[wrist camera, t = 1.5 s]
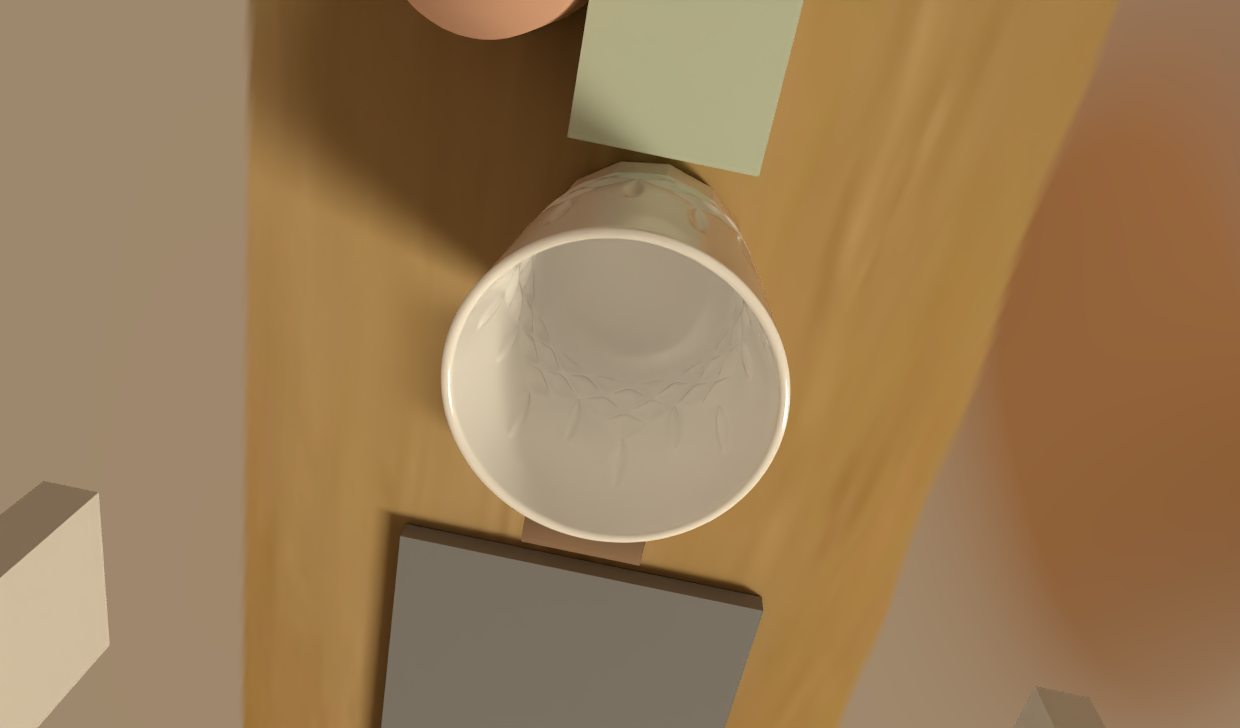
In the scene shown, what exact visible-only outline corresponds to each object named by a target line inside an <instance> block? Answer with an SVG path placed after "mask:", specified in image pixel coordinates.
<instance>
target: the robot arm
mask: <svg viewBox="0 0 1240 728" xmlns="http://www.w3.org/2000/svg"><path fill="white" fill-rule="evenodd" d="M102 549H103V548H102V534H101V521H100V507H99V493H98V492H94V491H89V490H84V489H79V488H74V487H69V486H65V485H60V484H55V483H50V482H45V481H43V482H42V483H41V484H39V485H38V486H37V487H35V488H34V489H33V490H32V491H30V492H29V493H28V494H26V495H25V496H24V497H23V498H21V499H20V500H19V501H17V502H16V503H15V504H14V505H12V506H11V507H10V508H9V509H7V510H6V511H5V512H3V513H2V514H1V515H0V728H37V727H38V726H39V725H40V724H41V723H42V722H43V721H44V719H45V718H46V717H47V716H48V715H49V714H50V712H51V711H52V710H53V709H54V708H55V707H56V706H57V704H58V703H59V702H60V701H61V700H62V699H63V698H64V697H65V695H66V694H67V693H68V692H69V691H70V690H71V688H72V687H73V686H74V685H75V684H76V683H77V682H78V680H79V679H80V678H81V677H82V676H83V675H84V674H85V672H86V671H87V670H88V669H89V668H90V667H91V666H92V664H93V663H94V662H95V661H96V660H97V659H98V658H99V656H100V655H101V654H102V653H103V652H104V651H105V650H106V648H107V647H108V646H109V631H108V618H107V603H106V589H105V575H104V563H103V550H102ZM1014 728H1106V727H1105V725H1104V724H1103V722H1102V720H1101V718H1100V716H1099V714H1098V712H1097V711H1096V709H1095V707H1094V705H1093V703H1092V701H1091V699H1090V698H1089V697H1085V696H1079V695H1074V694H1070V693H1065V692H1060V691H1056V690H1051V689H1046V688H1041V687H1036V686H1035V688H1034V689H1033V691H1032V693H1031V695H1030V697H1029V699H1028V701H1027V703H1026V705H1025V707H1024V709H1023V711H1022V712H1021V714H1020V717H1019V718H1018V720H1017V722H1016V724H1015V726H1014Z"/></svg>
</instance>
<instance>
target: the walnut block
mask: <svg viewBox="0 0 1240 728" xmlns="http://www.w3.org/2000/svg"><path fill="white" fill-rule="evenodd" d="M521 541H522V542H527V543H531V544H536V545H541V546H546V547H551V548H556V549H561V550H565V551H570V552H575V553H580V554H585V555H590V556H595V557H599V558H604V559H609V560H614V561H619V562H624V563H628V564H633V565H638V566H640V562H641V558H642V554H643V549H644V545H645V541H644V542H629V543H618V542H603V541H595V540H589V539H584V538H579V537H575V536H571V535H568V534H564V533H561V532H558V531H556V530H553V529H550V528H548V527H546V526H543V525H541V524H539V523H537V522H535V521H533V520H531V519H529V518H527V517H526V516H525V521H524V527H523V532H522V538H521Z"/></svg>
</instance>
